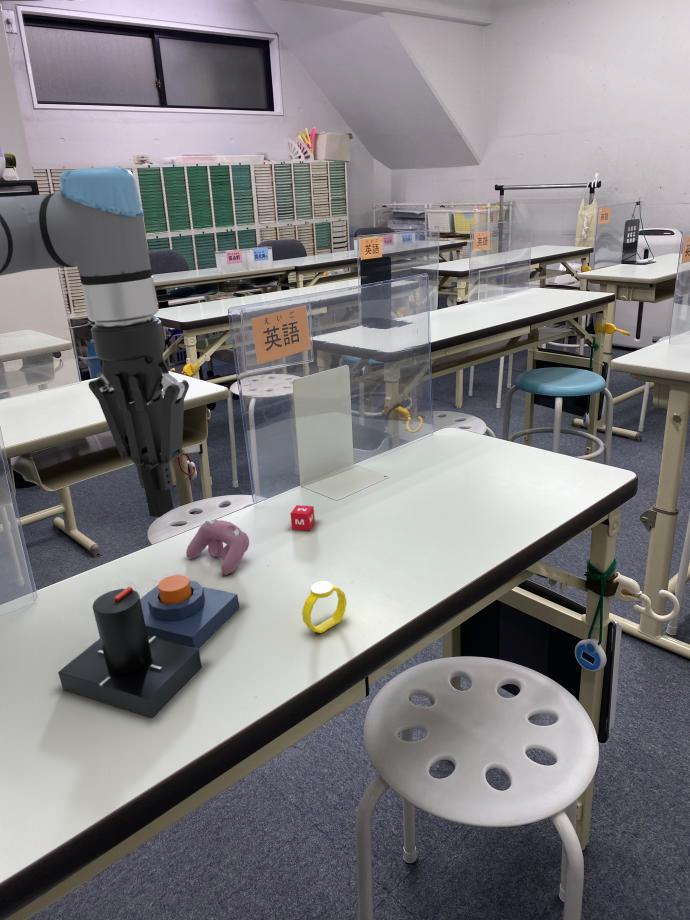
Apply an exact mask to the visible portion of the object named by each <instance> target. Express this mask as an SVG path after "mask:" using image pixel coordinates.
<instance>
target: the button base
mask: <svg viewBox="0 0 690 920" xmlns="http://www.w3.org/2000/svg"><path fill="white" fill-rule="evenodd" d="M189 580H190V579H189ZM190 586H191V592H192V595H191V597H190V598H188V599H187V600H185V601H183V602H180V603H175V604H165V603H162V602H161V600H160V595H159V590H158V584H157V585H155V587H153V588H152V589H150V590H149V591H148V592H147V593H146V594H144V595H143V596H142V597H140V601H141V606H142V611H143V616H144V620H145V625H146V630H147V635H148V636H149V637H153V636H156V639H160V640H164V641H168V642H172V643H176V644H180V645H184V646H188V647H192V648H195V649H199V648H201V647H202V646H203V645H204V644H205V643H206V641H208V639H210V638H211V637H212V635H214V633H216V632H217V631H218V630H219V629H220V628H221V627H222V625H224V624H225V623H226V622H227V621H228V620H229V619H230V618H231V617H232V616H233V615H234V614H235V613H236V612H237V611H238V610H239V609H240V601H239V595H238V593H236V592H229V591H225V590H220V589H216V588H211V587H206V586H203V585H201V584H200V582H199V581H197V580H190Z"/></svg>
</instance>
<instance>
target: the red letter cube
mask: <svg viewBox="0 0 690 920" xmlns="http://www.w3.org/2000/svg"><path fill="white" fill-rule="evenodd" d="M314 507H315V506H313V505H301V504H299V505H298V504H296V505H295V506H294V508H293V509H292V510H291V512H290V522H291V529H292V530H294V531H295V530H297V531H311V529H312V528H313V526H314V525H315V523H316V518H315V508H314Z"/></svg>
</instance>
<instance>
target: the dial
mask: <svg viewBox="0 0 690 920" xmlns="http://www.w3.org/2000/svg"><path fill="white" fill-rule="evenodd" d="M140 599H141V597H140V594H139V592H138V591H136V590H135V589H134V588H133V587H132V586H127V587H126V588H118V589H113V590H110V591H107V592H105V593H102V594H101V595H100V596H98V597H97V598H96V599H95V600H94V602H93V604H92V611H93V615H94V619H95V624H96V628H97V632H98V637H99V639H100V641H101V645H102V649H103V653H104V657H105V662H106V666H107V669H108V670H109V671H110V672H112V673H115V674H127V673H131V672H134V671H137V670H139V669H141V668H142V667H144V666H145V665H146V664H147V663H148V662H149V661H150V659H151V649H150V645H149V640H148V635H147V630H146V625H145V620H144V616H143V611H142V606H141V601H140Z"/></svg>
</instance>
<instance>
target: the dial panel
mask: <svg viewBox="0 0 690 920" xmlns="http://www.w3.org/2000/svg"><path fill="white" fill-rule="evenodd" d="M148 640H149V645H150V649H151V659H150V661H149V662H148V663H147V664H146V665H145V666H144V667H142V668H141V669H139V670H137V671H134V672H131V673H127V674H115V673H112V672H110V671H109V670H108V669H107V666H106V662H105V657H104V653H103V649H102V645H101V641H100V638H98V639H97V640H96V641H95V642H93V643H91V645H90V646H89V647H87V648H86V649H85V650H84V651H82V652H81V653H80V654H78V655H77V656H76V657H75V658H73V659H72V660H71V661H70V662H69V663H67V664H66V665H65V666H63V667H62V668H60V670H58V671H57V672H58V673H57V674H58V677H59V681H60V685H61V688H62V690H63V691H66V692H69V693H72V694H75V695H79V696H81V697H84V698H88V699H92V700H94V701H97V702H101V703H104V704H106V705H111V706H113V707H117V708H120V709H123V710H126V711H128V712H129V711H130V712H133V713H136V714H139V715H141V716H144V717H147V718H151V719H153V717H155V716H156V715H157V713H159V712H160V711H161V710H162V708H163V707H164V706H165V705H166V704H167V703H168V702H169V701H170V700H171V699H172V698H173V697H174V696H175V695H176V694H177V693H178V692H179V691H180V690H181V689H182V688H183V687H184V686H185V685H186V684H187V683H188V681H190V680H191V678H193V677H194V675H196V673H197V672H198V671H199V670H200V669H201V668H202V667H203V664H202V659H201V655H200V654H201V653H200V649H199V648H198V649H195V648H192V647H188V646H184V645H180V644H176V643H172V642H168V641H164V640H160V639H156V636H153V637H149V636H148Z"/></svg>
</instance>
